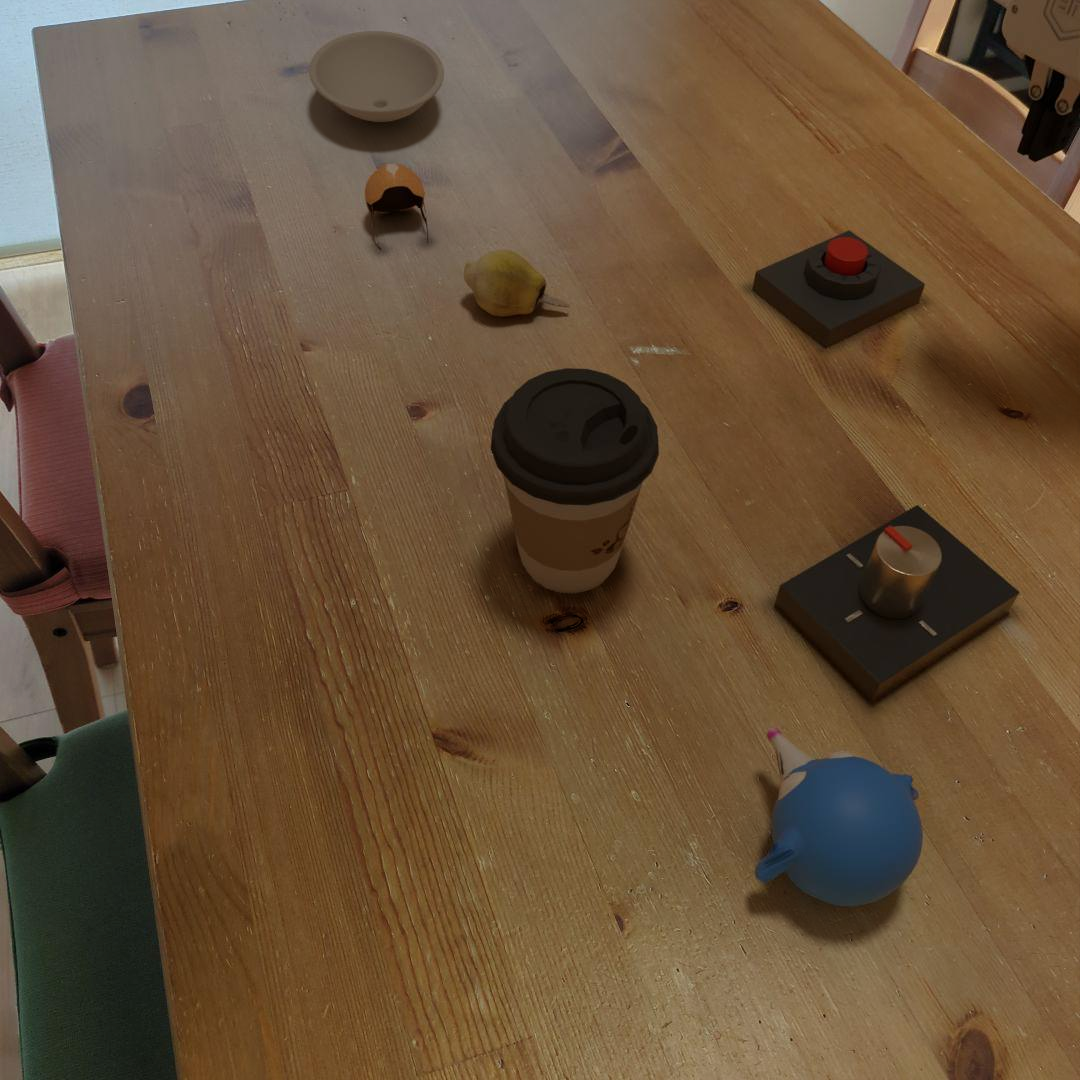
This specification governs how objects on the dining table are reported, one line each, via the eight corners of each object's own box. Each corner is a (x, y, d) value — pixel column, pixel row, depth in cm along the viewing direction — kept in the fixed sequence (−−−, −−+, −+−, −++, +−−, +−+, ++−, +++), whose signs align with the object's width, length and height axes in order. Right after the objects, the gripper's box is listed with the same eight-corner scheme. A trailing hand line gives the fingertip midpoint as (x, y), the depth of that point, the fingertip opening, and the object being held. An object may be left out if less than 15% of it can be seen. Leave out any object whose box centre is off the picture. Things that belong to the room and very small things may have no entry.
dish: (302, 82, 128) (296, 40, 125) (423, 65, 131) (420, 22, 128) (333, 164, 118) (326, 120, 114) (464, 142, 121) (462, 99, 117)
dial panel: (908, 525, 87) (918, 503, 85) (1008, 612, 82) (1021, 590, 80) (773, 605, 82) (780, 583, 80) (870, 703, 76) (880, 682, 74)
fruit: (564, 337, 101) (455, 316, 100) (566, 312, 106) (462, 291, 105) (576, 277, 97) (464, 254, 97) (578, 253, 102) (471, 232, 102)
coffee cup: (601, 642, 79) (615, 503, 68) (465, 579, 83) (456, 437, 71) (668, 535, 86) (691, 392, 74) (539, 481, 89) (542, 336, 78)
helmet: (431, 254, 113) (417, 178, 113) (435, 231, 106) (420, 150, 106) (374, 262, 112) (360, 185, 112) (375, 240, 105) (359, 158, 105)
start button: (844, 248, 104) (848, 232, 102) (871, 268, 102) (876, 252, 100) (815, 261, 102) (819, 245, 101) (843, 281, 100) (847, 265, 99)
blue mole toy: (830, 724, 75) (860, 655, 69) (949, 873, 69) (994, 812, 62) (682, 800, 72) (698, 735, 65) (792, 965, 65) (823, 911, 59)
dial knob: (934, 601, 79) (957, 555, 75) (889, 629, 77) (910, 583, 73) (890, 560, 81) (910, 513, 77) (845, 586, 80) (863, 539, 76)
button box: (844, 248, 110) (853, 213, 106) (918, 302, 104) (931, 267, 101) (751, 290, 105) (758, 255, 102) (824, 349, 100) (834, 313, 97)
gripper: (1009, -145, 71) (928, 121, 85) (1214, -60, 63) (1087, 217, 77) (1085, -168, 74) (995, 94, 88) (1291, -89, 66) (1155, 184, 80)
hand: (1038, 151), depth 83 cm, fingers closed
